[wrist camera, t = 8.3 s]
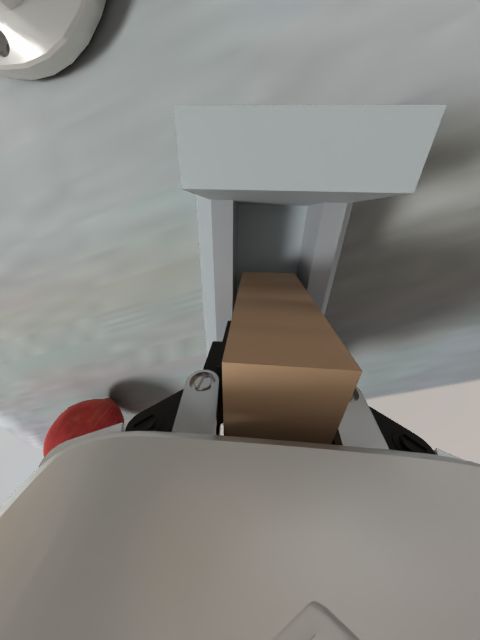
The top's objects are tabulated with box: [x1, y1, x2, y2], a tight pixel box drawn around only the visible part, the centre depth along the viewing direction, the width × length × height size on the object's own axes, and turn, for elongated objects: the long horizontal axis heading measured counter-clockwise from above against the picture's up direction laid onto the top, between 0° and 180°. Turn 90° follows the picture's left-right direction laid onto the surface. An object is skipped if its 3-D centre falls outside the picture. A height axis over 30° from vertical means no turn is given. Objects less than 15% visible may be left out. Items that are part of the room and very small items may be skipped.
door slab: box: [222, 271, 362, 444], centre depth 10 cm, size 8×3×8 cm, turn 179°
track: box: [173, 105, 447, 357], centre depth 12 cm, size 16×9×8 cm, turn 179°
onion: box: [43, 398, 124, 457], centre depth 19 cm, size 6×6×8 cm
